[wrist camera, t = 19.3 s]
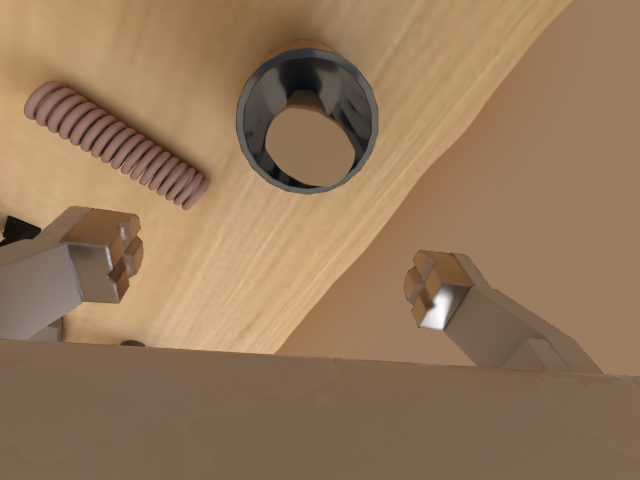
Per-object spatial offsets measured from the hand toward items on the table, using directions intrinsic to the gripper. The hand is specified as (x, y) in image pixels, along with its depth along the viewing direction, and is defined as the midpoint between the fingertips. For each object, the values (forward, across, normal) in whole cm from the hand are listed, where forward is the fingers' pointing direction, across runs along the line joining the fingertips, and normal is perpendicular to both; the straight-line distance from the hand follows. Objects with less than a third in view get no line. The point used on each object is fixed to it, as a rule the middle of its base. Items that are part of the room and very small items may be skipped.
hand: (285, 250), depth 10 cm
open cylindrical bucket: (+30, -2, +2) cm, 30 cm away
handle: (+30, -2, +2) cm, 30 cm away
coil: (+30, +16, +10) cm, 36 cm away
